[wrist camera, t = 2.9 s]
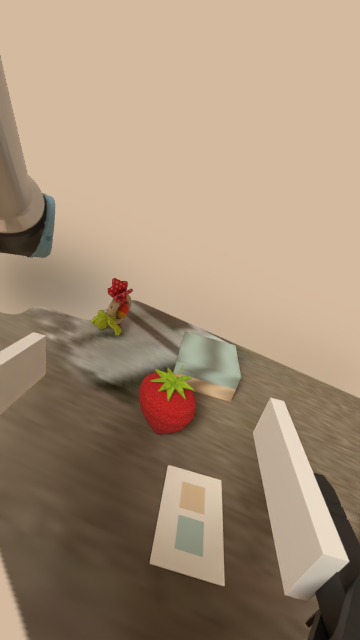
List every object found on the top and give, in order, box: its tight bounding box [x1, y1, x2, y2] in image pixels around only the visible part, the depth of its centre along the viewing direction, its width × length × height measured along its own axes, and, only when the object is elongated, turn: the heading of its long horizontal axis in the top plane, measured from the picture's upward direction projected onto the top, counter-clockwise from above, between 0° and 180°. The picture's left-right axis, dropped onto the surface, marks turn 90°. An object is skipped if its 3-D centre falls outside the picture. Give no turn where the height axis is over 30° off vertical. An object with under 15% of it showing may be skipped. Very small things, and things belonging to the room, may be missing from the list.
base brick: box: [174, 332, 241, 402], centre depth 41 cm, size 10×10×5 cm
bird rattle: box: [91, 278, 133, 336], centre depth 48 cm, size 6×11×9 cm
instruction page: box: [149, 465, 225, 587], centre depth 21 cm, size 6×8×1 cm
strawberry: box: [139, 365, 196, 435], centre depth 27 cm, size 6×8×10 cm
